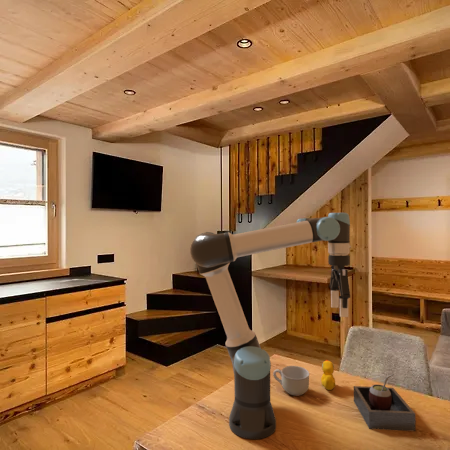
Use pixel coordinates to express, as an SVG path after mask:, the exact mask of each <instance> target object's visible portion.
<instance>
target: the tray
mask: <svg viewBox="0 0 450 450" xmlns="http://www.w3.org/2000/svg"><path fill="white" fill-rule="evenodd" d="M386 387H387V388H388V389H389V391H390V392H391V397H392V400H391V408H390V411H384V410H371V409H370V407H371V405H370V402H369V391H370V388H371V386H361V385H360V386H359V385H353V402H354V405H355V407H356V408H357V409H358V411H359V413H360V415H361V417H362V419H363V421H364V422H365V423H366V425H367V428H368V429H369V430H383V431H384V430H385V431H387V430H388V431H404V432H405V431H406V432H416V412H415V411H414V410H413V409H412V408H411V407H410V405H408V403H407V402H406V401H405V400H404V398H403V397H401V395H400V393H399V392H398V391H397V390H396V389H395V388H394V387H388V386H386Z"/></svg>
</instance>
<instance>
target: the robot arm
mask: <svg viewBox="0 0 450 450" xmlns="http://www.w3.org/2000/svg"><path fill="white" fill-rule="evenodd" d="M350 222H351V221H350V215H349V213H347V212H329V213H328V215H327V216H323V217H304V218H298V219H297V220H296V222H291V223H287V224H283V225H276V226H270V227H266V228H261V229H255V230H250V231H246V232H241V233H240V232H239V233H234V234H233V233H231V232H229V231H228V232H223V233H214V232H208V231H206V232H203V233H200V234H198V235H197V236H196V237H194V239H193V240H192V242H191V244H190V256H191V258H192V260H193V262H194V263H195V264H196V267H197V270H198V273H199V275H201V276H203V277H205V280H206V283H207V285H208V289H209V290H210V294H211V297H212V299H213V301H214V305H215V307H216V309H217V312H218V315H219V317H220V321H221V324H222V326H223V329H224V332H225V335H226V341H225V347H226V349H227V352H228V356H229V357H230V361H231V363H232V365H231V366H232V369H233V370H232V371H233V377H234V381H233V382H234V389H233V390H234V391H233V392H234V400H233V401H234V402H233V404H232V406H231V411H230V413H229V416H228V417H229V419H228V423H229V424H228V426H229V429H230V430H231V432H232V433H234V435H236V436H238V437H241V438H243V439H248V440H261V439H265V438H267V437H270V436H271V435H273V434H274V432H275V431H276V428H277V418H276V415H275V412H274V411H275V410H274V408H273V405H272V402H271V367H272V364H271V363H272V362H271V357H270V354H269V353H268V352H267V351H266V350H265V349H263V348H261V345H260V343H259V340H258V338H257V334H256V331H254V330H251V329H250V327H249V325H248V321H247V319H246V316H245V314H244V311H243V307H242V305H241V302H240V300H239V297H238V294H237V292H236V289H235V285H234V283H233V280H232V278H231V274H230V272H229V265H230V263H231V262H235V261H236V260H237V258H240V257H245V256H246V257H247V256H250V255H257V254H260V253H266V252H272V251H277V250H281V249H286V248H292V247H295V246H296V247H297V246H301V245H306V244H310V243H311V244H312V243H317V242H323V241H324V242H327V252H328V254H329V255H328V258H327V259H328V261H327V262H328V265H329V266H331V270H330V271H331V272H330V279H329V288H330V307H331V309H333V308H335V309H337V308H338V309H339V317H340V318H349V299H350V298H351V290H350V284H349V277H348V275H349V273H348V269H346V268H345V266H347V267H348V266H350V264H351V261H350V260H351V257H350V249H351V248H352V245H351V244H350V235H351V232H350V231H351V229H350V227H351V223H350ZM339 294H340V295H339Z"/></svg>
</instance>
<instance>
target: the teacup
mask: <svg viewBox="0 0 450 450" xmlns="http://www.w3.org/2000/svg"><path fill="white" fill-rule="evenodd" d="M277 373H278V374H279V376H280V377H281V378H279V377H278V376H277ZM272 375H273V378H274V379H275V380H276V381H277V382H278V383H279V384H280V385H281V386H282V388H283V390H284V391H285V392H286V393H287V394H289V395H291V396H297V397H298V396H302V395H304V394H305V393H306V392H308V390H309V385H310V371H309V370H307V369H306V368H305V367H303V366H299V365H288V366H285V367H283V368H282V369H279V368H276V369H274V370H273V374H272Z"/></svg>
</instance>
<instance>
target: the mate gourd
mask: <svg viewBox="0 0 450 450" xmlns="http://www.w3.org/2000/svg"><path fill="white" fill-rule="evenodd" d="M394 375H395V374H394V373H392V374H389V375H387V376H386V377H385V378H384V383H383V385H382V384H373V385H371V386H370V387H371V388H370V391H369V402H370V405H371V407H370V409H371V410H384V411H390V408H391V400H392V397H391V392H390V391H389V389H388V388H387V387H388V386H386V384H387V382H388V381H389V379H390V378H391V377H392V376H394Z"/></svg>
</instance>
